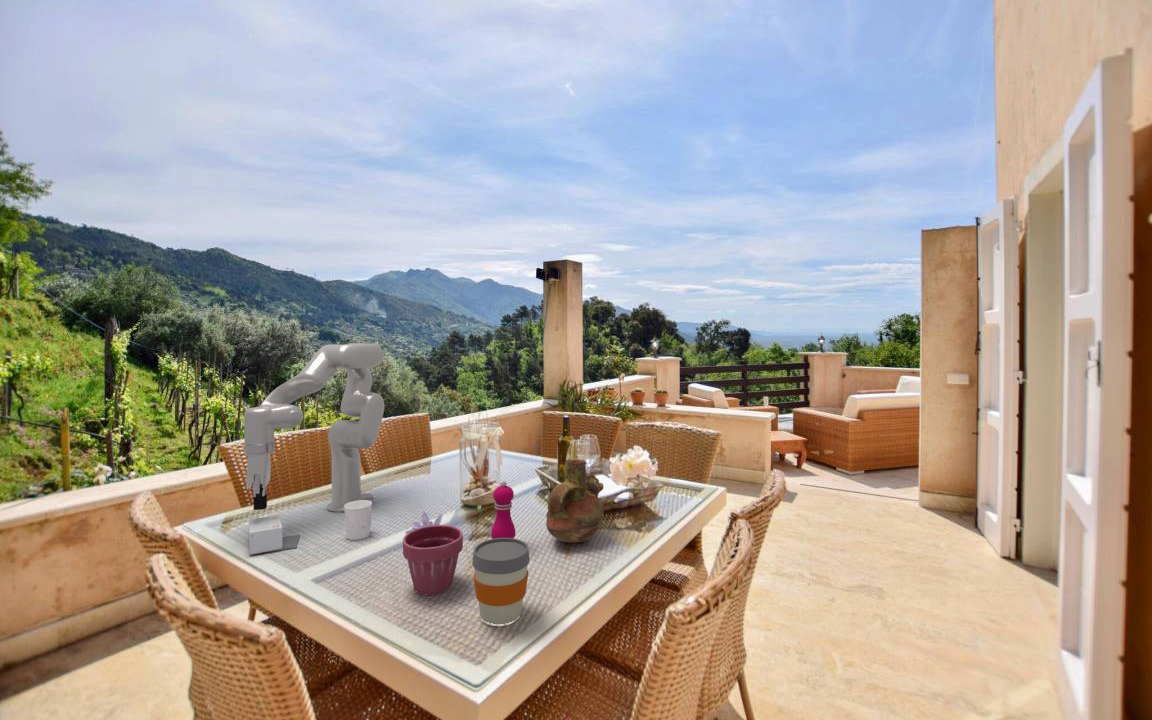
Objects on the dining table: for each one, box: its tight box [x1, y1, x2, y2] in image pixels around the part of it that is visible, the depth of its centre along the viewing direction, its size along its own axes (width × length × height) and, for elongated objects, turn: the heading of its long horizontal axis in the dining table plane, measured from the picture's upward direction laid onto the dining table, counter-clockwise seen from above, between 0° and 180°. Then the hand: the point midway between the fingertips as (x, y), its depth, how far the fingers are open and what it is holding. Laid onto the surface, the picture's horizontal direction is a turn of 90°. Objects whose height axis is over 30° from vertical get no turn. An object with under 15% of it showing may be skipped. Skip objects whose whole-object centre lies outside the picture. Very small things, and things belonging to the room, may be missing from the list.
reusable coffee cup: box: [472, 538, 531, 624], centre depth 107 cm, size 13×13×15 cm
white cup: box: [344, 500, 373, 541], centre depth 150 cm, size 8×8×10 cm
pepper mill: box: [490, 480, 517, 539], centre depth 142 cm, size 7×7×20 cm
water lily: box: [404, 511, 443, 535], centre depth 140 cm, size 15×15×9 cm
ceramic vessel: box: [545, 458, 605, 543], centre depth 150 cm, size 17×26×25 cm, turn 145°
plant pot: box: [402, 524, 464, 596], centre depth 120 cm, size 14×14×13 cm
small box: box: [248, 514, 284, 556], centre depth 143 cm, size 8×6×13 cm
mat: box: [252, 534, 301, 555], centre depth 143 cm, size 11×10×1 cm
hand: (260, 508), depth 146 cm, fingers closed
